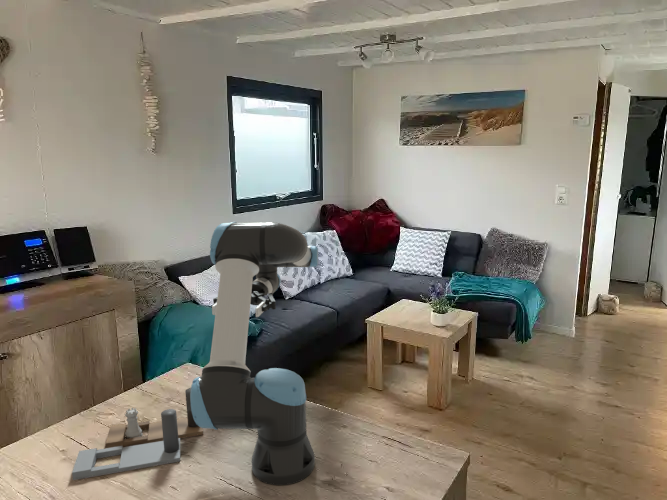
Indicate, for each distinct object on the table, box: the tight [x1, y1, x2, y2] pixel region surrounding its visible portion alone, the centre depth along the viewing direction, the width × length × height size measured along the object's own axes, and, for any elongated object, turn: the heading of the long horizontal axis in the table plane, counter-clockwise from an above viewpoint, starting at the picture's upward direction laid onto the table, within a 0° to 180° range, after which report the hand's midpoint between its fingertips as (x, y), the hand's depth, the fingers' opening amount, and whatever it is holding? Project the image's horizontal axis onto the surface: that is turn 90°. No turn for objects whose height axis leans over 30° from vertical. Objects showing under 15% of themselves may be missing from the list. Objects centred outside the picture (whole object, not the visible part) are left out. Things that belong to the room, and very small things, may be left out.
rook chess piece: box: [124, 407, 144, 439], centre depth 135 cm, size 4×4×8 cm
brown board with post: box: [105, 387, 204, 448], centre depth 136 cm, size 9×24×11 cm, turn 106°
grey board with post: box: [71, 408, 181, 481], centre depth 125 cm, size 9×24×11 cm, turn 106°
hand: (234, 311), depth 150 cm, fingers open, 13 cm apart
